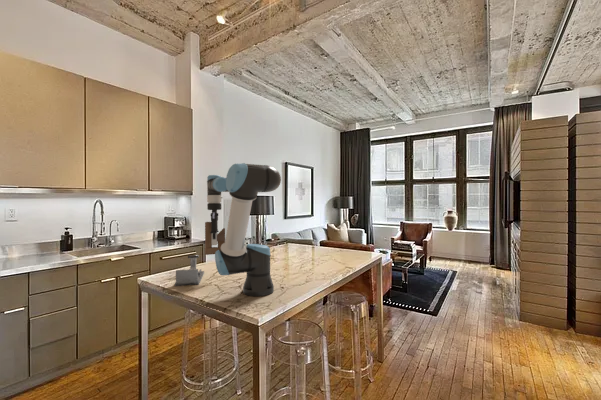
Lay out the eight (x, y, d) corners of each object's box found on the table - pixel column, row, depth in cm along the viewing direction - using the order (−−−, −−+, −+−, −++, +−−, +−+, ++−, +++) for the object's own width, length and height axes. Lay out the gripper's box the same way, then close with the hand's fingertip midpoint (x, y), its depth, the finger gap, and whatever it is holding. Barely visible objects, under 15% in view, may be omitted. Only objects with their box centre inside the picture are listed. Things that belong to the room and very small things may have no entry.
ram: (197, 273, 167) (197, 256, 166) (186, 274, 165) (186, 256, 165) (198, 271, 171) (198, 254, 171) (188, 272, 170) (188, 255, 170)
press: (198, 284, 150) (198, 269, 150) (174, 286, 148) (174, 270, 148) (204, 273, 173) (204, 260, 173) (183, 274, 171) (183, 261, 170)
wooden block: (225, 253, 158) (225, 221, 158) (205, 255, 153) (205, 222, 154) (224, 252, 161) (223, 221, 162) (204, 254, 157) (204, 221, 157)
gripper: (220, 202, 150) (220, 246, 150) (222, 202, 167) (222, 242, 167) (205, 202, 148) (205, 247, 148) (209, 202, 165) (209, 242, 165)
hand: (214, 244), depth 158 cm, fingers closed on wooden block, 4 cm apart
